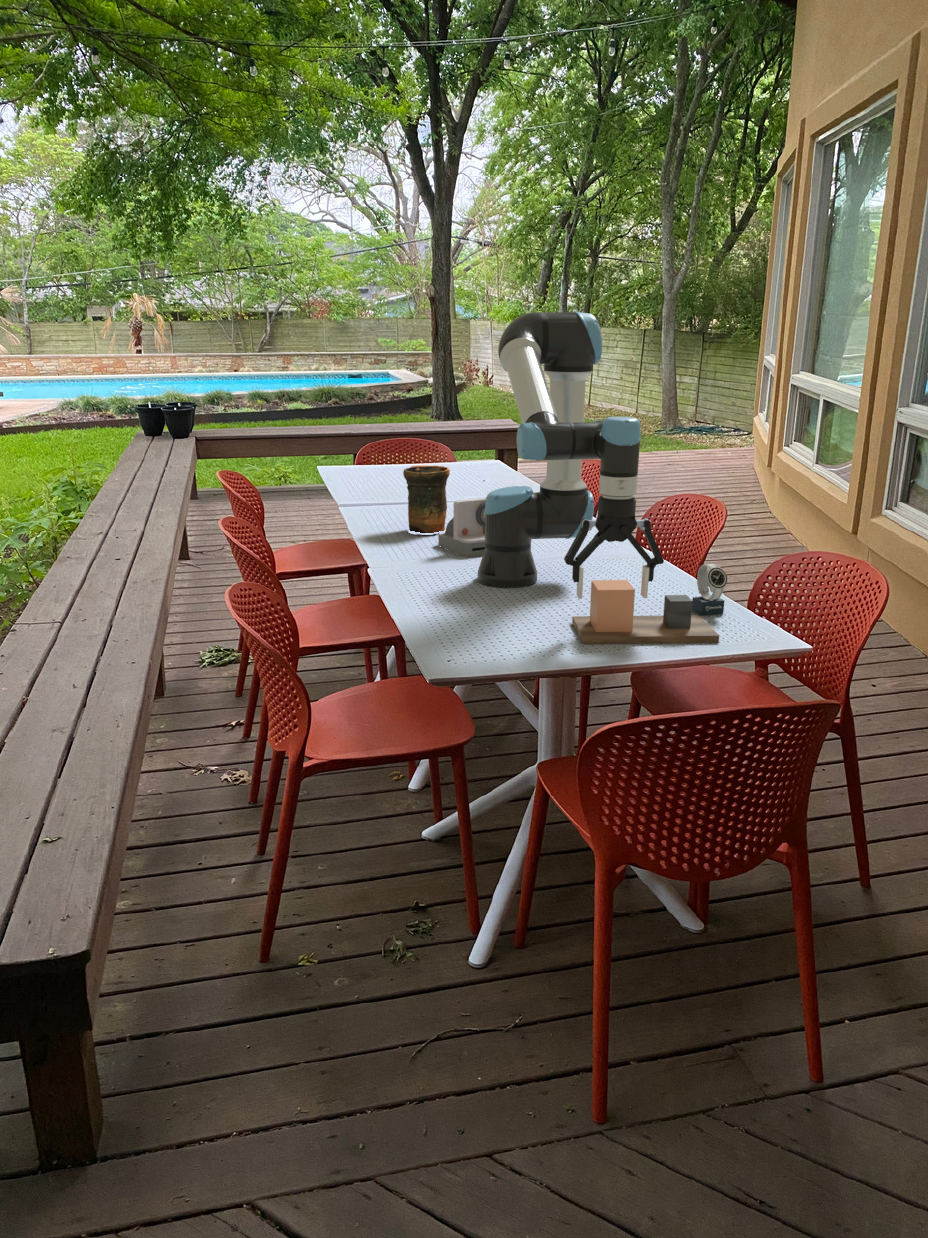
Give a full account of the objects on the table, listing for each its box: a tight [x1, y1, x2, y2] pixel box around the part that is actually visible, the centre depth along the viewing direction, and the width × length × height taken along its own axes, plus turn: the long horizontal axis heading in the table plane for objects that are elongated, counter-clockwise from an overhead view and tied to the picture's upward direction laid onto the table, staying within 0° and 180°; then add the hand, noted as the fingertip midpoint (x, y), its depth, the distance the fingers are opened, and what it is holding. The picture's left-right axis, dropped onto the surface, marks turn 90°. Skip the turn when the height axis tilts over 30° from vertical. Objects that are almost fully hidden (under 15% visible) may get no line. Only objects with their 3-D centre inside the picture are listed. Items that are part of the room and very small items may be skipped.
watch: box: [691, 563, 729, 617], centre depth 208 cm, size 6×8×11 cm
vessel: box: [402, 464, 451, 533], centre depth 288 cm, size 14×14×20 cm
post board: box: [571, 594, 720, 645], centre depth 194 cm, size 14×28×8 cm, turn 93°
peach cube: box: [589, 579, 636, 632], centre depth 193 cm, size 8×8×9 cm
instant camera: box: [437, 497, 486, 558], centre depth 268 cm, size 21×21×15 cm
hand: (611, 596), depth 193 cm, fingers open, 13 cm apart
